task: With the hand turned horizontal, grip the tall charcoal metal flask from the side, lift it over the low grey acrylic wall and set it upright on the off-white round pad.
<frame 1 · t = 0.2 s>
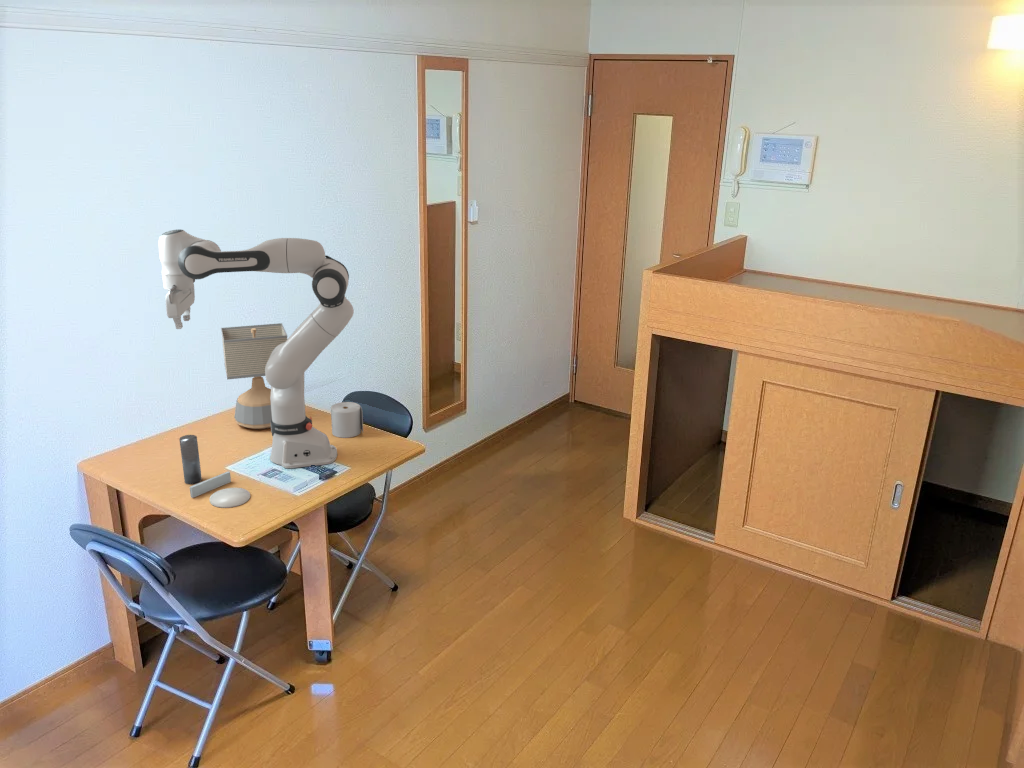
hand: (183, 324, 267), 48 cm above the table, tool pointing down, fingers open, 8 cm apart
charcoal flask: (193, 480, 269), on the table
desk lamp: (261, 422, 314), on the table
acrylic wall: (211, 489, 264), on the table
resting pad: (230, 498, 259), on the table
toilet tissue: (348, 432, 308), on the table
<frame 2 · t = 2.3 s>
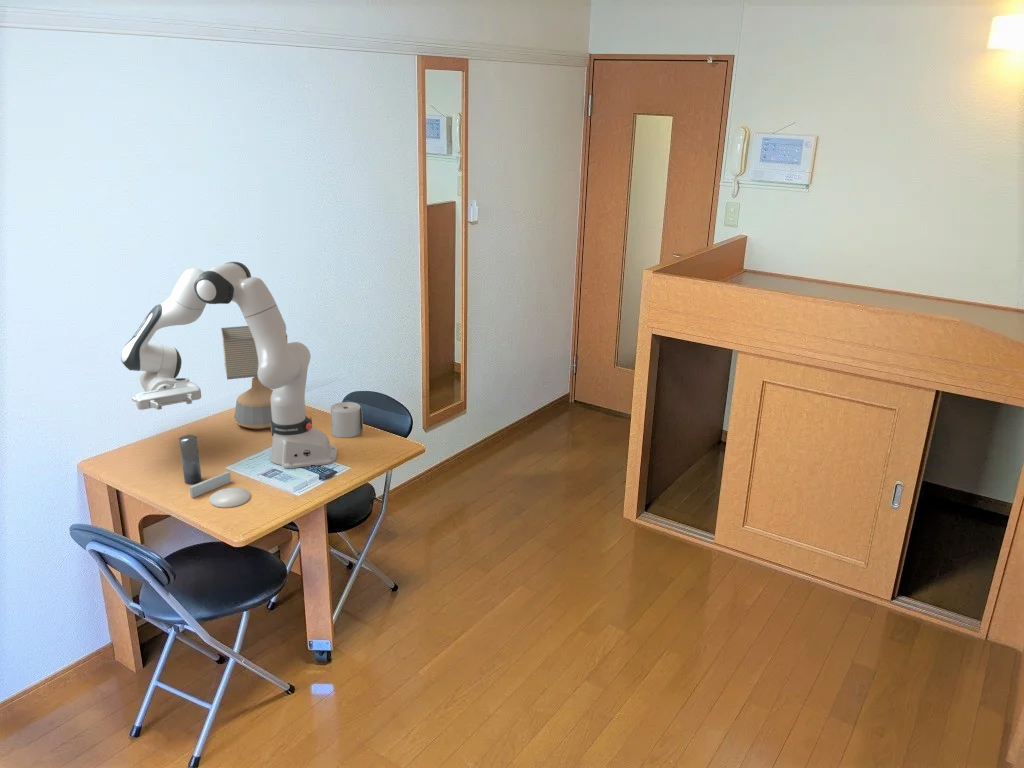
hand: (174, 404, 270), 22 cm above the table, tool horizontal, fingers open, 8 cm apart
nothing on the table moved.
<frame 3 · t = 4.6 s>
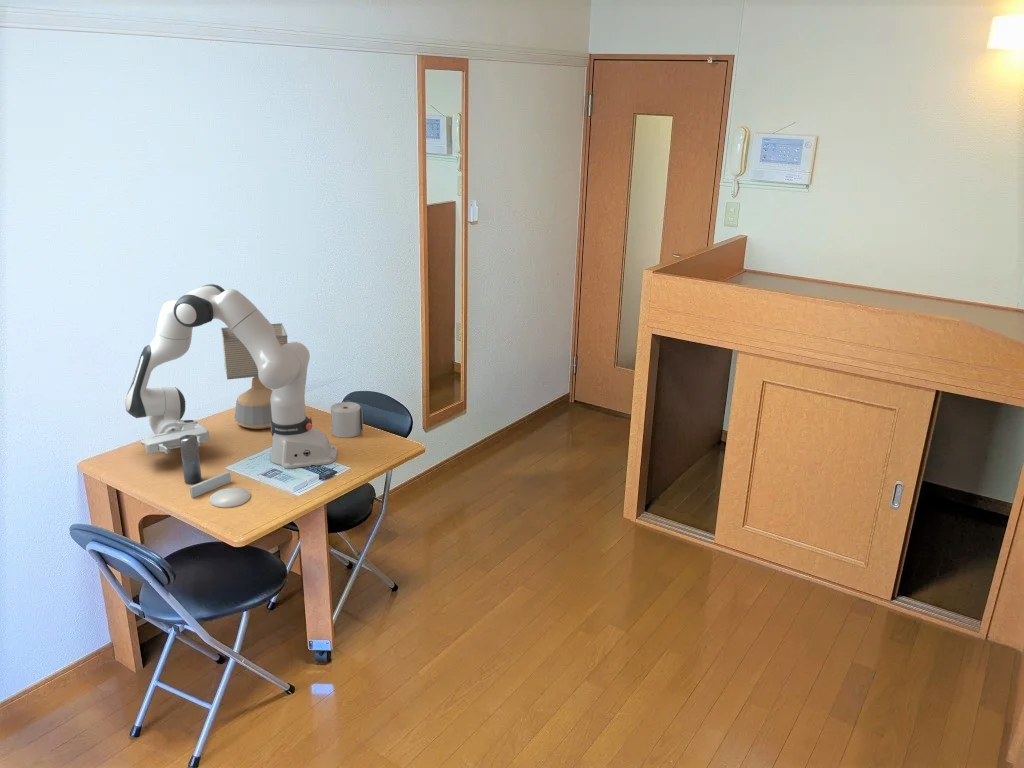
hand: (183, 447, 273), 8 cm above the table, tool horizontal, fingers open, 8 cm apart
nothing on the table moved.
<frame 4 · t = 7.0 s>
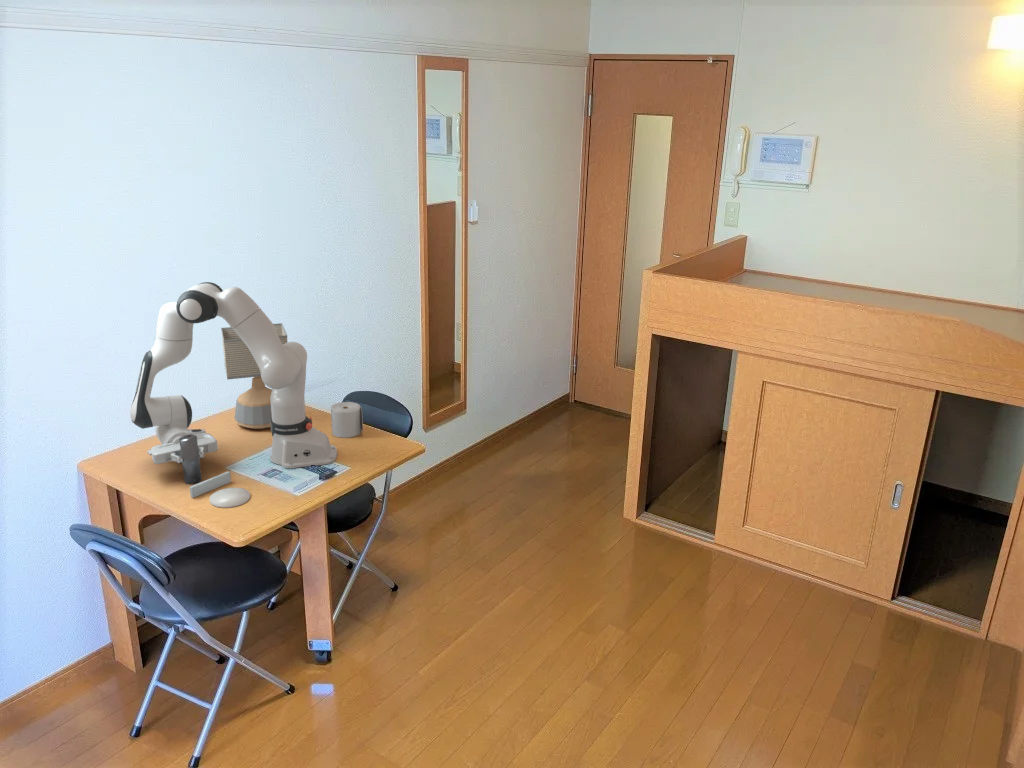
hand: (191, 458, 265), 8 cm above the table, tool horizontal, fingers closed on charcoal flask, 5 cm apart
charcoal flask: (193, 480, 269), on the table, touching gripper
everything else where it was.
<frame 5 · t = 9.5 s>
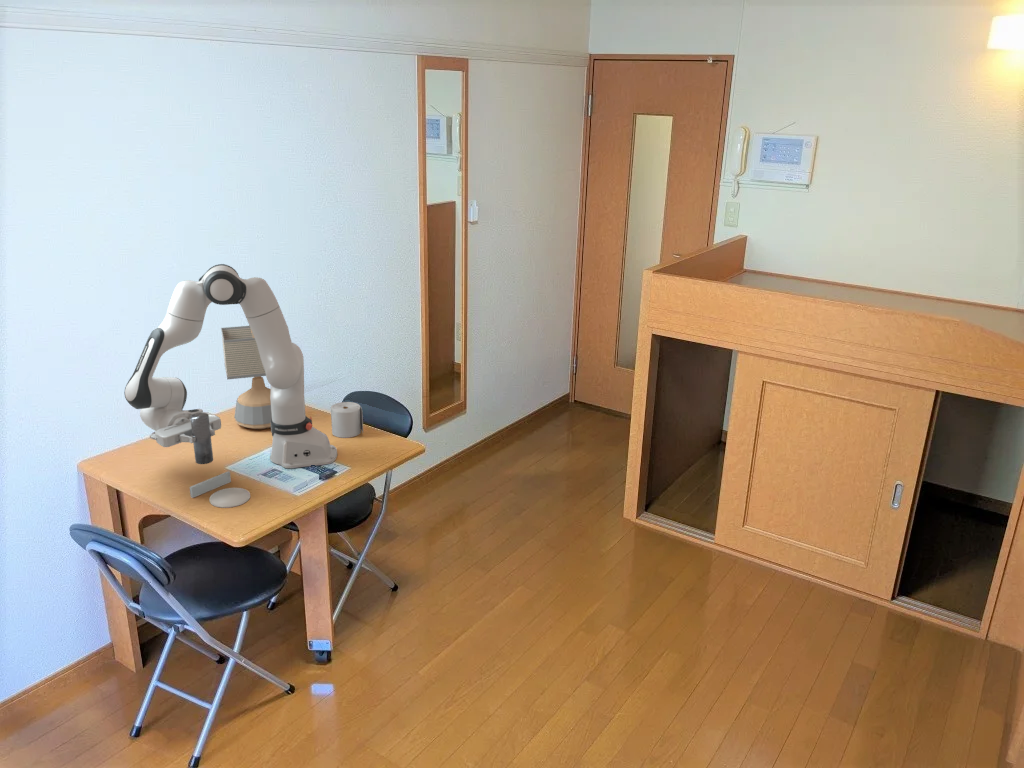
hand: (203, 436, 255), 19 cm above the table, tool horizontal, fingers closed on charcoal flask, 5 cm apart
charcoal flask: (204, 460, 259), point 11 cm above the table, touching gripper
everything else where it was.
when the fingers open (10 cm above the table, at t = 12.3 s): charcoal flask drops 1 cm, resting on resting pad.
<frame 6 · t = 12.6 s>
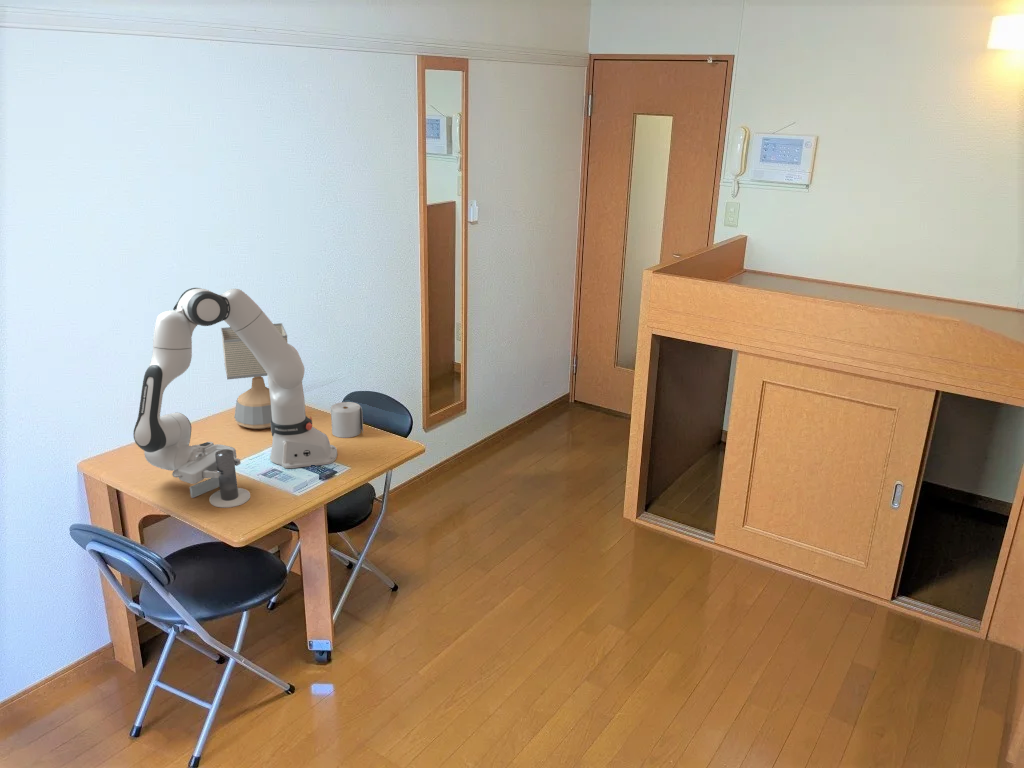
hand: (229, 468, 255), 10 cm above the table, tool horizontal, fingers open, 8 cm apart
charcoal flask: (229, 496, 258), point 1 cm above the table, touching resting pad
everything else where it was.
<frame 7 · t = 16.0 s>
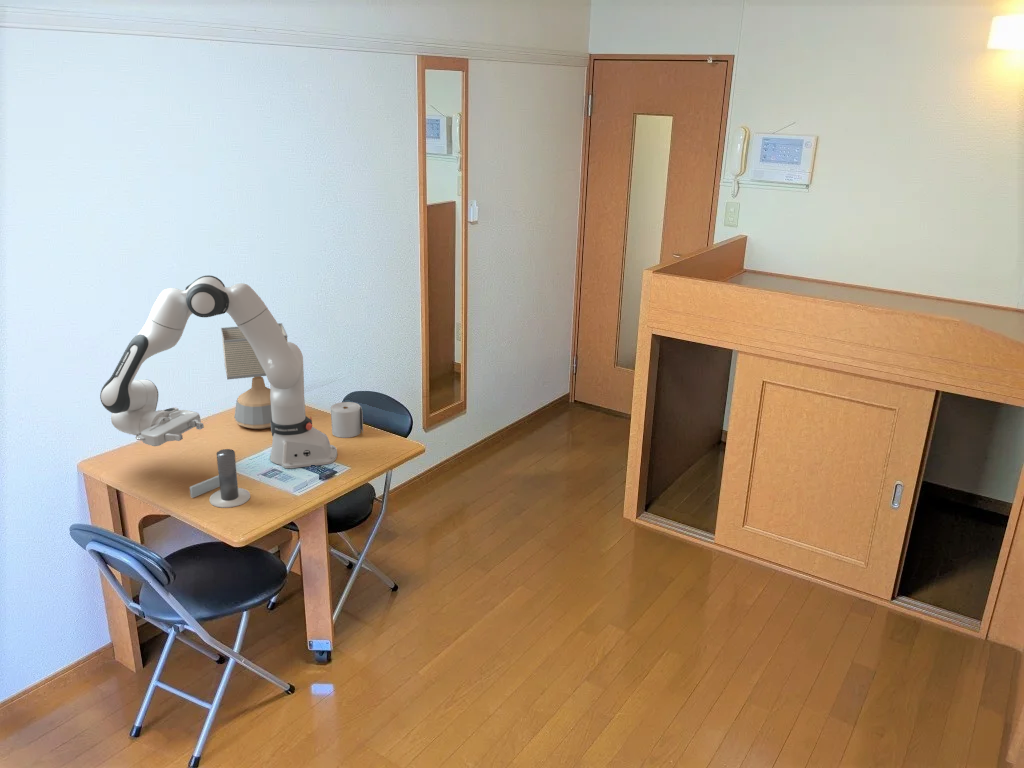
hand: (191, 432, 261), 18 cm above the table, tool horizontal, fingers open, 8 cm apart
nothing on the table moved.
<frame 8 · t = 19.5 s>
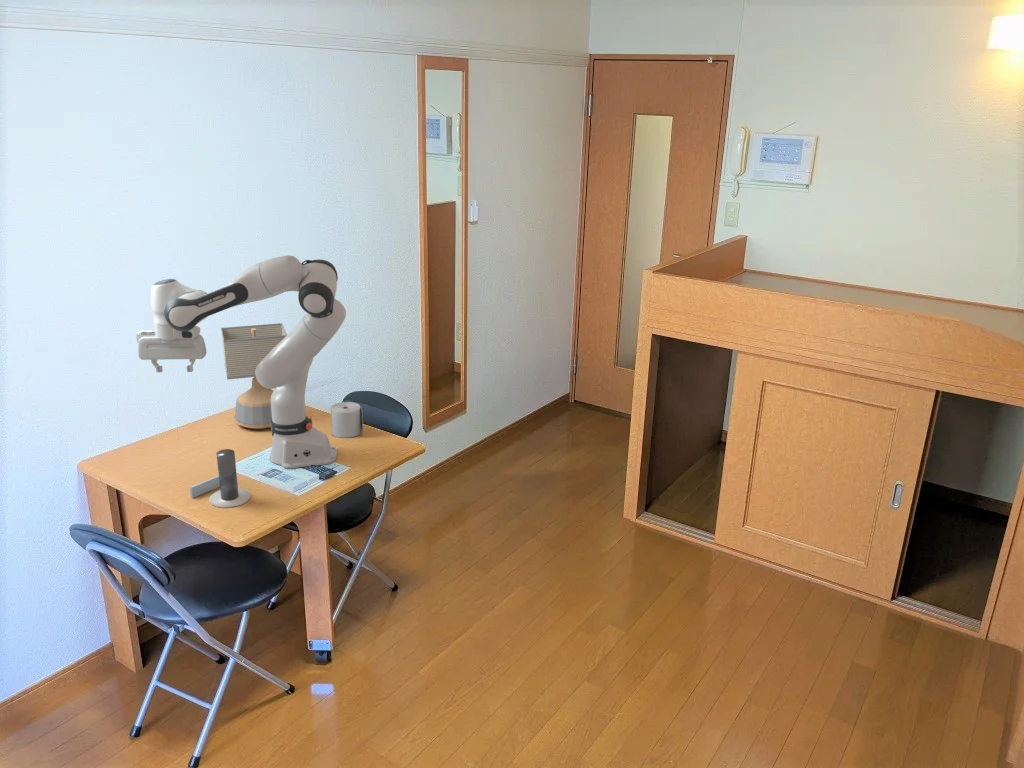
hand: (175, 371, 268), 33 cm above the table, tool pointing down, fingers open, 8 cm apart
nothing on the table moved.
at the end: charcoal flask 0.0 cm from the resting pad (horizontally); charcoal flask tilted 0°; the gripper is holding nothing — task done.
